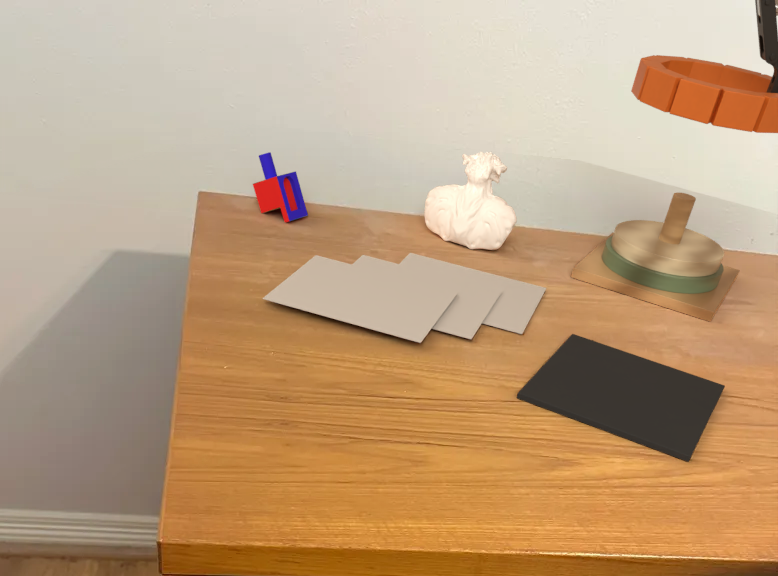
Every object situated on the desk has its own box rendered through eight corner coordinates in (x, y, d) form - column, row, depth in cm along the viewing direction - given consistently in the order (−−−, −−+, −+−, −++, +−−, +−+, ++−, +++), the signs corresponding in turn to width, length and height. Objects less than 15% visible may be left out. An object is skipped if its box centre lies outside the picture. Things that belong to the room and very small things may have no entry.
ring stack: (736, 279, 110) (768, 199, 104) (710, 322, 98) (745, 235, 92) (609, 240, 115) (633, 163, 109) (570, 277, 103) (594, 192, 97)
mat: (722, 390, 85) (725, 385, 85) (688, 462, 73) (691, 456, 73) (570, 338, 90) (572, 333, 89) (516, 398, 78) (517, 392, 78)
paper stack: (345, 235, 104) (345, 230, 103) (546, 288, 99) (547, 282, 99) (261, 304, 86) (262, 298, 86) (502, 372, 81) (504, 365, 81)
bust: (506, 269, 108) (542, 185, 108) (497, 246, 101) (535, 155, 100) (421, 242, 112) (455, 160, 111) (406, 218, 105) (443, 130, 104)
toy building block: (284, 221, 109) (265, 155, 106) (308, 215, 107) (289, 146, 104) (265, 227, 107) (245, 159, 104) (289, 221, 104) (269, 151, 101)
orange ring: (807, 119, 89) (821, 88, 87) (772, 142, 78) (786, 106, 76) (662, 81, 95) (671, 50, 93) (609, 97, 84) (619, 62, 82)
